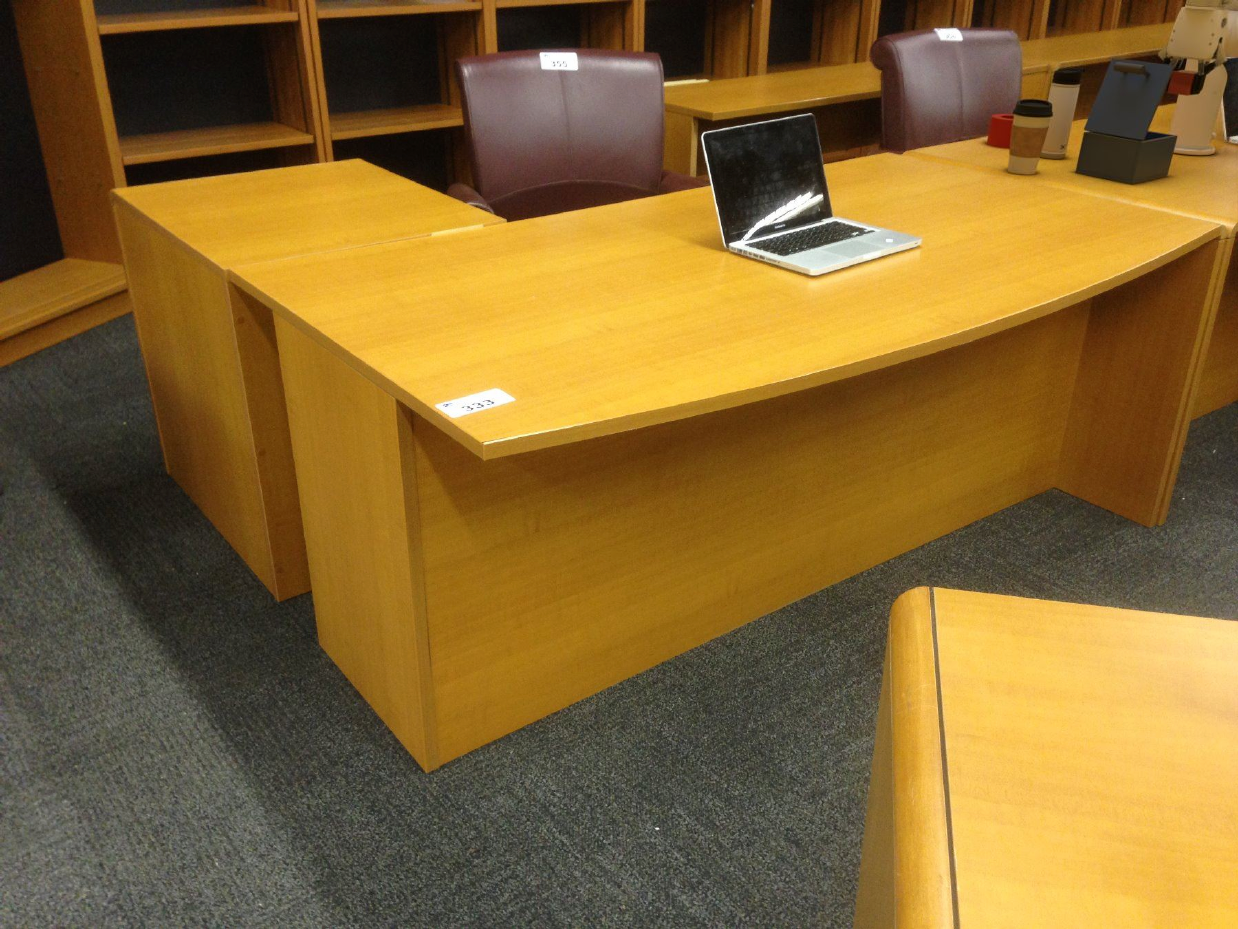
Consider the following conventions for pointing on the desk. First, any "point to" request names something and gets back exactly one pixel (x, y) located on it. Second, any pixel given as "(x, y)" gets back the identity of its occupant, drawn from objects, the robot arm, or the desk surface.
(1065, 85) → the travel mug
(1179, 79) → the block
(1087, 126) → the lid
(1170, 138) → the dark grey hollow box
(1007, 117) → the lever
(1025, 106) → the coffee cup
